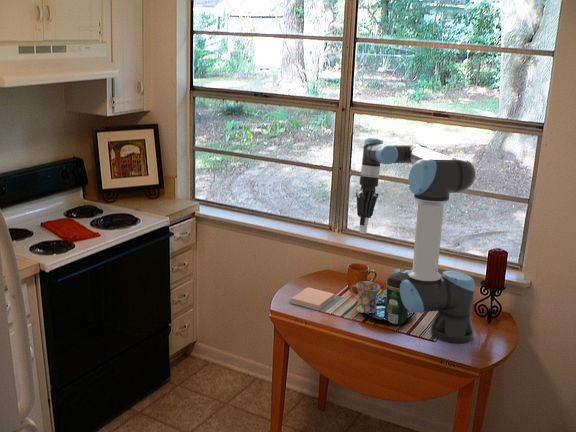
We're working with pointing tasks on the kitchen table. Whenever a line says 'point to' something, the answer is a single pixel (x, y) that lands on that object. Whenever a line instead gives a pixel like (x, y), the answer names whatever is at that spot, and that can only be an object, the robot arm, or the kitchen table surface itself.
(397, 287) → the coffee jar
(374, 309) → the mug
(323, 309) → the mat
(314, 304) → the tile
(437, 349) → the kitchen table surface
